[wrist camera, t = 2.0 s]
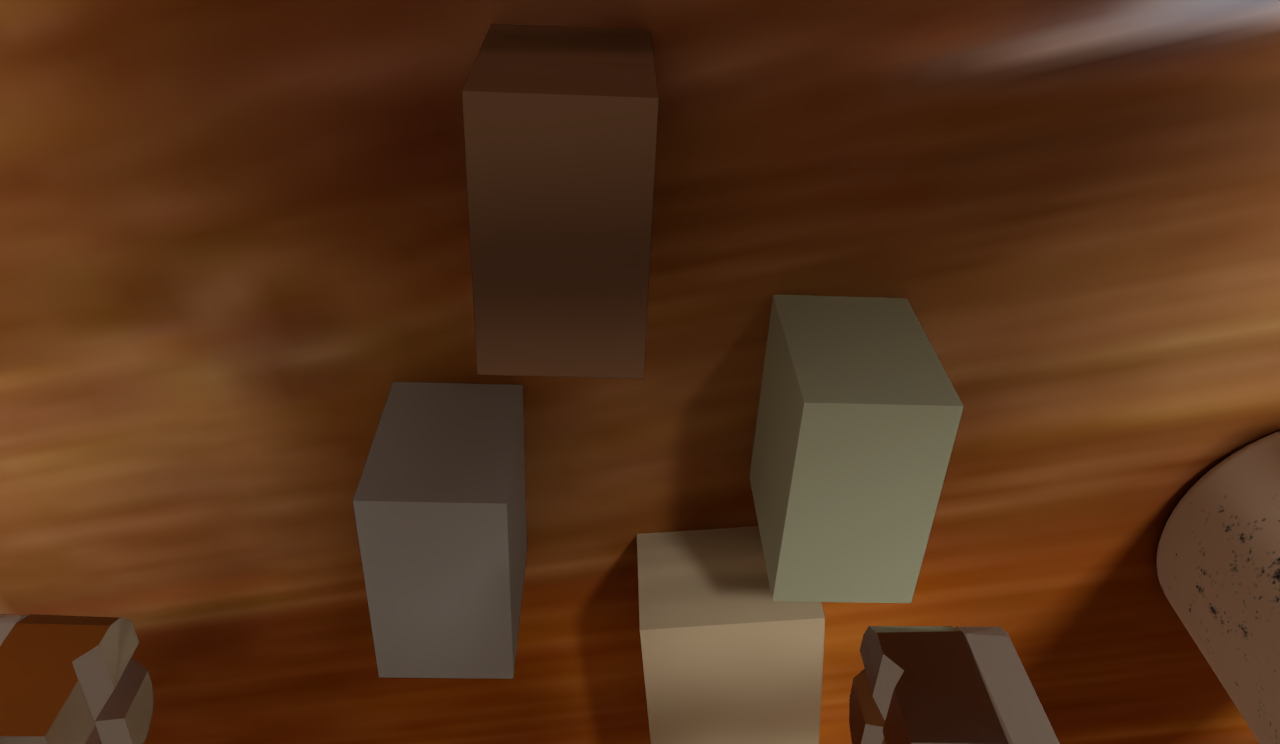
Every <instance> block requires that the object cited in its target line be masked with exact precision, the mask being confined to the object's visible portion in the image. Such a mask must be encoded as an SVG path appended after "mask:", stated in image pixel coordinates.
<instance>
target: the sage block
mask: <svg viewBox="0 0 1280 744" xmlns="http://www.w3.org/2000/svg"><path fill="white" fill-rule="evenodd" d="M963 407H964V406H963V404H962V402H961V400H960V398H959V396H958V394H957V392H956V390H955V389H954V387H953V385H952V383H951V381H950V379H949V377H948V375H947V373H946V371H945V370H944V368H943V366H942V364H941V362H940V360H939V358H938V356H937V354H936V352H935V350H934V349H933V347H932V345H931V343H930V341H929V339H928V337H927V335H926V333H925V331H924V330H923V328H922V326H921V324H920V322H919V320H918V318H917V316H916V314H915V312H914V311H913V309H912V307H911V305H910V303H909V301H908V299H907V298H882V297H846V296H811V295H775V294H773V300H772V307H771V315H770V322H769V330H768V338H767V345H766V353H765V361H764V368H763V376H762V383H761V391H760V399H759V406H758V414H757V422H756V429H755V437H754V445H753V452H752V460H751V467H750V475H749V477H750V483H751V488H752V494H753V499H754V505H755V510H756V515H757V521H758V526H759V532H760V537H761V542H762V548H763V553H764V559H765V564H766V570H767V575H768V580H769V586H770V591H771V597H772V601H795V602H867V603H911V602H912V598H913V594H914V590H915V587H916V583H917V579H918V575H919V572H920V568H921V564H922V560H923V557H924V553H925V549H926V545H927V542H928V538H929V534H930V531H931V527H932V523H933V519H934V516H935V512H936V508H937V504H938V501H939V497H940V493H941V489H942V486H943V482H944V478H945V474H946V471H947V467H948V463H949V459H950V456H951V452H952V448H953V445H954V441H955V437H956V433H957V430H958V426H959V422H960V418H961V415H962V411H963Z"/></svg>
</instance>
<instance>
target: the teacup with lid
mask: <svg viewBox="0 0 1280 744" xmlns="http://www.w3.org/2000/svg"><path fill="white" fill-rule="evenodd" d="M1157 574H1158V579H1159V582H1160V585H1161V588H1162V590H1163V592H1164V595H1165V596H1166V598H1167V600H1168V601H1169V603H1170V604H1171V606H1172V607H1173V609H1174V611H1175V612H1176V614H1177V615H1178V617H1179V618H1180V620H1181V621H1182V623H1183V625H1184V626H1185V628H1186V629H1187V631H1188V632H1189V634H1190V635H1191V637H1192V639H1193V640H1194V642H1195V643H1196V645H1197V646H1198V648H1199V650H1200V651H1201V653H1202V654H1203V656H1204V657H1205V659H1206V660H1207V662H1208V664H1209V665H1210V667H1211V668H1212V670H1213V671H1214V673H1215V674H1216V676H1217V678H1218V679H1219V681H1220V682H1221V684H1222V685H1223V687H1224V689H1225V690H1226V692H1227V693H1228V695H1229V696H1230V698H1231V699H1232V701H1233V703H1234V704H1235V706H1236V707H1237V709H1238V710H1239V712H1240V713H1241V715H1242V717H1243V718H1244V720H1245V721H1246V723H1247V724H1248V726H1249V728H1250V729H1251V731H1252V732H1253V734H1254V735H1255V737H1256V738H1257V740H1258V742H1259V743H1260V744H1280V431H1278V432H1276V433H1273V434H1271V435H1268V436H1266V437H1264V438H1261V439H1259V440H1257V441H1255V442H1253V443H1251V444H1249V445H1247V446H1245V447H1244V448H1242V449H1240V450H1238V451H1237V452H1235V453H1233V454H1232V455H1230V456H1229V457H1227V458H1226V459H1224V460H1223V461H1221V462H1220V463H1219V464H1217V465H1216V466H1215V467H1213V468H1212V469H1211V470H1209V471H1208V472H1207V473H1206V474H1205V475H1204V476H1203V477H1201V478H1200V479H1199V480H1198V481H1197V482H1196V483H1195V484H1194V485H1193V486H1192V487H1191V488H1190V489H1189V490H1188V492H1187V493H1186V494H1185V495H1184V496H1183V498H1182V499H1181V500H1180V501H1179V503H1178V504H1177V506H1176V507H1175V509H1174V510H1173V512H1172V513H1171V515H1170V517H1169V519H1168V520H1167V523H1166V525H1165V527H1164V530H1163V532H1162V535H1161V538H1160V541H1159V545H1158V550H1157Z"/></svg>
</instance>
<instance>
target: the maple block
mask: <svg viewBox="0 0 1280 744" xmlns="http://www.w3.org/2000/svg"><path fill="white" fill-rule="evenodd" d="M637 558H638V591H639V624H640V638H641V649H642V659H643V669H644V679H645V690H646V700H647V710H648V720H649V730H650V741H651V744H819V731H820V710H821V690H822V669H823V649H824V628H825V616H824V612H823V608H822V603H821V602H795V601H772V597H771V591H770V586H769V580H768V575H767V570H766V564H765V559H764V553H763V548H762V542H761V537H760V532H759V526H751V527H735V528H720V529H705V530H690V531H675V532H659V533H644V534H637Z"/></svg>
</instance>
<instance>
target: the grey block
mask: <svg viewBox="0 0 1280 744" xmlns="http://www.w3.org/2000/svg"><path fill="white" fill-rule="evenodd" d="M353 506H354V512H355V519H356V526H357V533H358V539H359V546H360V553H361V560H362V566H363V573H364V580H365V587H366V593H367V600H368V607H369V613H370V620H371V627H372V634H373V640H374V647H375V654H376V661H377V667H378V674H379V677H388V678H490V679H514V669H515V660H516V650H517V640H518V631H519V621H520V611H521V602H522V592H523V583H524V573H525V563H526V554H527V529H526V488H525V448H524V407H523V385H506V384H465V383H424V382H393V383H392V386H391V389H390V392H389V395H388V398H387V401H386V404H385V407H384V410H383V413H382V416H381V419H380V422H379V425H378V428H377V431H376V434H375V437H374V440H373V443H372V446H371V449H370V451H369V454H368V457H367V460H366V463H365V466H364V469H363V472H362V475H361V478H360V481H359V484H358V487H357V490H356V493H355V496H354V499H353Z"/></svg>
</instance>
